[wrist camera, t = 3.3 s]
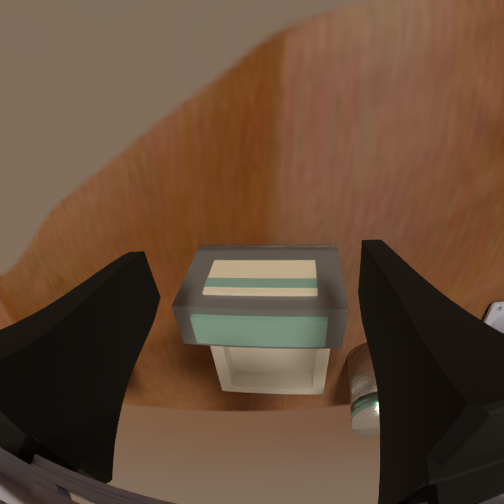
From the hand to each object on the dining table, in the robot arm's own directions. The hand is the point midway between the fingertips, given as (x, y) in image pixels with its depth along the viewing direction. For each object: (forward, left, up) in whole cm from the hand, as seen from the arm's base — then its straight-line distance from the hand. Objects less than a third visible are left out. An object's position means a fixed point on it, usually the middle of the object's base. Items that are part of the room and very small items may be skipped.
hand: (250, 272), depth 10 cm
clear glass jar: (-8, +16, -9) cm, 20 cm away
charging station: (0, +12, -9) cm, 15 cm away
